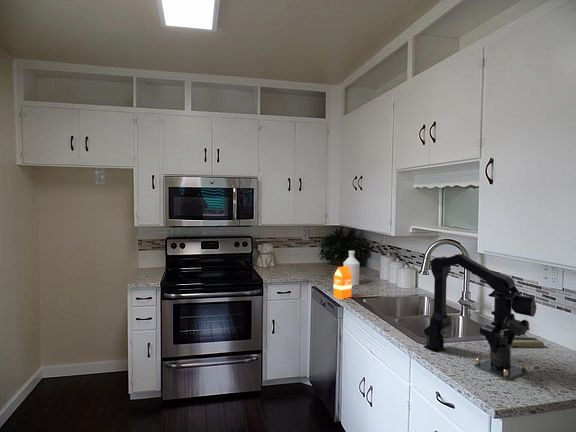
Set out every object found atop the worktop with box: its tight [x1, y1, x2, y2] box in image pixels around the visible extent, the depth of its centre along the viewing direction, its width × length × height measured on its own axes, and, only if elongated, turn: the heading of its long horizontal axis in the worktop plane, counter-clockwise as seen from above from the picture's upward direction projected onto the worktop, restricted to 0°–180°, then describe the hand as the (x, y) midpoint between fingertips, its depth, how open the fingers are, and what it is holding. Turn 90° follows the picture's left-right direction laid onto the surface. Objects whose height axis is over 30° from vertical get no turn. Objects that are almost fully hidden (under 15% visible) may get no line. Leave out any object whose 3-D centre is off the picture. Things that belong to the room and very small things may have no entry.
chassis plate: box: [473, 357, 529, 382], centre depth 145 cm, size 13×13×3 cm
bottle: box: [342, 250, 361, 287], centre depth 286 cm, size 12×12×25 cm
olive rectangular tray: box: [511, 336, 545, 349], centre depth 171 cm, size 16×8×3 cm, turn 91°
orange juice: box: [333, 266, 353, 300], centre depth 249 cm, size 8×9×20 cm
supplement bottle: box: [489, 333, 512, 371], centre depth 145 cm, size 7×7×12 cm
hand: (501, 350), depth 145 cm, fingers open, 8 cm apart
